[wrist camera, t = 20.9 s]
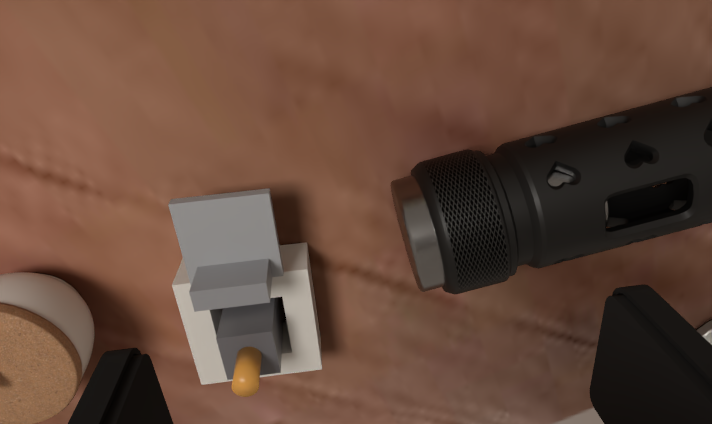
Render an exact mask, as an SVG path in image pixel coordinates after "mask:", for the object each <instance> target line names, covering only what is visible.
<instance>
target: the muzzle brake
mask: <svg viewBox="0 0 712 424" xmlns="http://www.w3.org/2000/svg"><path fill="white" fill-rule="evenodd" d="M665 182H667V183H666V184H661V183H665ZM657 184H659V185H657ZM654 185H656V186H655V187H654V188H653V187H651V186H654ZM391 192H392V197H393V202H394V206H395V210H396V214H397V218H398V222H399V226H400V230H401V234H402V237H403V241H404V244H405V248H406V251H407V255H408V258H409V262H410V265H411V268H412V271H413V274H414V277H415V280H416V283H417V285H418V288H419V289H420V291H422V292H425V291H428V290H432V289H436V288H440V287H442V288H443V289H444V291H445V292H448V293H452V294H459V293H463V292H466V291H470V290H474V289H478V288H482V287H485V286H489V285H493V284H497V283H501V282H504V281H506V280H507V279H508V278H509V276H512V275H514V274H515V273H516V270H517V266H520V265H524V264H527V265H529V266H531V267H534V268H541V267H545V266H549V265H553V264H556V263H560V262H562V261H567V260H572V259H575V258H579V257H583V256H587V255H591V254H594V253H598V252H602V251H606V250H610V249H613V248H617V247H621V246H625V245H628V244H631V243H634V242H640V241H644V240H647V239H651V238H655V237H659V236H663V235H666V234H670V233H674V232H678V231H681V230H685V229H689V228H693V227H697V226H700V225H702V224H707V223H712V87H711V88H707V89H703V90H699V91H696V92H692V93H688V94H685V95H681V96H677V97H674V98H670V99H666V100H663V101H659V102H655V103H652V104H648V105H644V106H641V107H637V108H633V109H630V110H626V111H622V112H619V113H615V114H611V115H608V116H604V117H600V118H596V119H593V120H589V121H585V122H582V123H578V124H574V125H571V126H567V127H563V128H560V129H556V130H552V131H549V132H545V133H541V134H538V135H534V136H530V137H527V138H523V139H519V140H516V141H512V142H508V143H504V144H502V145H501V146H499V147H498V148H497V150H496V151H495V153H494V154H491V155H487V156H485V155H484V154H483V153H482V152H481V151H472V150H463V151H459V152H456V153H452V154H448V155H445V156H441V157H437V158H434V159H430V160H426V161H423V162H420V163H418V164H417V165H416V166H415V167H414V168H413V169H412V170H411V176H408V177H404V178H401V179H397V180H393V181H392V182H391ZM672 209H674V210H672ZM607 226H608V227H611V228H606V227H607Z"/></svg>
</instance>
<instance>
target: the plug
mask: <svg viewBox="0 0 712 424" xmlns="http://www.w3.org/2000/svg"><path fill="white" fill-rule="evenodd" d="M283 318H284V313H283V308H282V303H281V298H280V297H275V298H270V303H262V304H254V305H246V306H237V307H229V308H223V310H222V315H221V319H220V323H219V328H218V332H217V337H216V340H217V344H218V348H219V351H220V355H221V358H222V362H223V365H224V369H225V373H226V376H227V380H231V379H233V382H232V390H233V392H234V393H235V394H237V395H239V396H243V397H248V396H252V395H254V394H255V393H256V392H257V391H258V388H259V379H260V375H267V374H275V373H281V358H282V338H283Z"/></svg>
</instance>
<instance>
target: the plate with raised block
mask: <svg viewBox="0 0 712 424" xmlns="http://www.w3.org/2000/svg"><path fill="white" fill-rule="evenodd" d="M168 205H169V209H170V212H171V216H172V220H173V223H174V227H175V230H176V234H177V238H178V241H179V245H180V248H181V252H182V256H183V259H184V263H185V266H186V270H187V274H188V277H189V281H190V284H191V288H190V291H189V294H190V297H191V301H192V304H193V308H194V312H196V311H204V310H213V309H221V308H229V307H237V306H246V305H254V304H262V303H270V297H271V286H272V277H279V276H283V274H284V268H283V262H282V257H281V251H280V245H279V239H278V234H277V228H276V222H275V216H274V210H273V205H272V199H271V193H270V188H268V189H259V190H250V191H241V192H232V193H223V194H214V195H205V196H196V197H187V198H178V199H171V200H170V202H169V204H168Z"/></svg>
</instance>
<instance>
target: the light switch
mask: <svg viewBox="0 0 712 424" xmlns="http://www.w3.org/2000/svg"><path fill="white" fill-rule="evenodd" d="M280 251H281V257H282V262H283V268H284V274H283V276H279V277H272V286H271V297H270V298H275V297H282V298H283V304H284V309H285V315H286V321H287V322H283V338H282V358H281V373H275V374H267V375H260V377H265V376H273V375H281V374H289V373H297V372H304V371H312V370H320V369H322V356H321V337H320V330H319V323H318V316H317V309H316V302H315V295H314V288H313V281H312V274H311V267H310V260H309V253H308V246H307V242H305V243H297V244H288V245H280ZM172 287H173V290H174V294H175V297H176V300H177V304H178V307H179V311H180V314H181V317H182V321H183V324H184V327H185V331H186V334H187V337H188V341H189V344H190V347H191V351H192V354H193V358H194V361H195V364H196V368H197V371H198V374H199V378H200V381H201V384H202V385H203V384H211V383H219V382H227V381H233V379H231V380H227V376H226V373H225V369H224V365H223V362H222V358H221V355H220V351H219V348H218V344H217V340H216V337H217V332H218V328H219V323H220V319H221V315H222V310H223V308H221V309H213V310H204V311H196V312H194V308H193V304H192V301H191V297H190V294H189V291H190V288H191V284H190V281H189V277H188V274H187V270H186V266H185V263H184V259H182V261H181V264H180V266H179V269H178V271H177V274H176V276H175V279H174V281H173V284H172Z"/></svg>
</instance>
